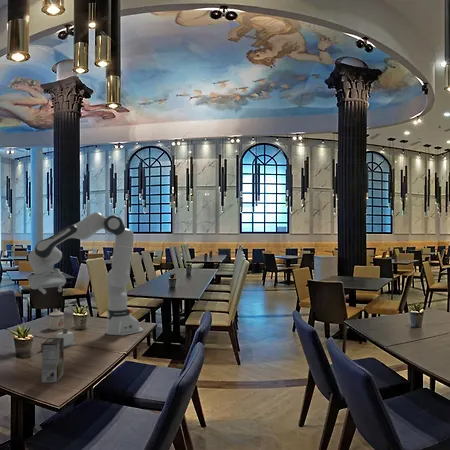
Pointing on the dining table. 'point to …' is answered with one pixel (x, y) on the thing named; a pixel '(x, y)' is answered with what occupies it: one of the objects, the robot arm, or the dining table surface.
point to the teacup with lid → (56, 320)
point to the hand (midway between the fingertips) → (52, 292)
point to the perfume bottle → (66, 336)
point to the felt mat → (70, 345)
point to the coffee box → (52, 359)
